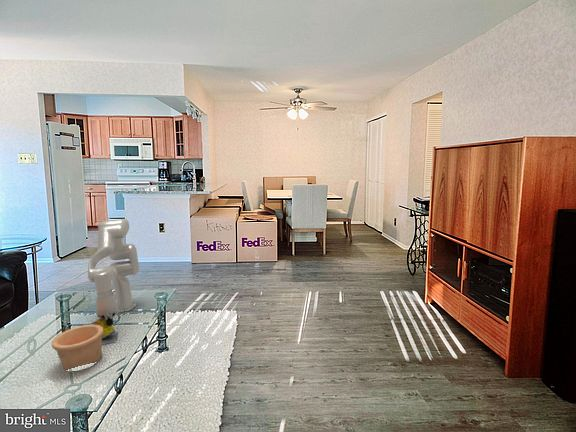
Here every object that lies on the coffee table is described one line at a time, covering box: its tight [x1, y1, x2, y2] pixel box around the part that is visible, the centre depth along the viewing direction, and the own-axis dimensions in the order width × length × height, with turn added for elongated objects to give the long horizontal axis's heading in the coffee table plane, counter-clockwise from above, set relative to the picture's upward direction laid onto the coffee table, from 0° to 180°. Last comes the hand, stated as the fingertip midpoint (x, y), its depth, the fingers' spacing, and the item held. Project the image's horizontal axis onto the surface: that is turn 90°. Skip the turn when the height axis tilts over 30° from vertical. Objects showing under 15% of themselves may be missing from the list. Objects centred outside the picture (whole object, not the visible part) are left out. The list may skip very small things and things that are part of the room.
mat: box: [102, 331, 119, 346], centre depth 196 cm, size 12×20×1 cm, turn 111°
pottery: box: [51, 324, 104, 371], centre depth 176 cm, size 22×22×14 cm
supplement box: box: [90, 317, 117, 340], centre depth 198 cm, size 6×6×11 cm
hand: (110, 325), depth 197 cm, fingers closed
